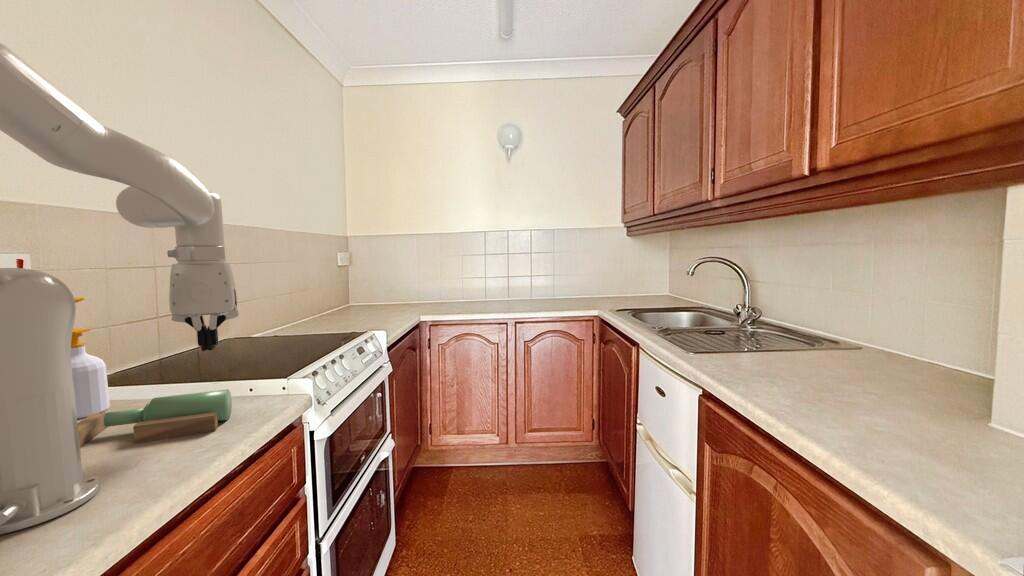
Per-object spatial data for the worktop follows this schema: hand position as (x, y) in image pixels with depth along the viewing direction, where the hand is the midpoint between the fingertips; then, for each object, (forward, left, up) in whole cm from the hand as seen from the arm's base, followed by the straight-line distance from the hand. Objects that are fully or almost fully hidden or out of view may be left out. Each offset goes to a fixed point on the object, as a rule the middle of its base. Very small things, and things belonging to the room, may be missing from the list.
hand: (208, 349), depth 83 cm
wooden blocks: (0, +9, -15) cm, 17 cm away
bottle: (0, -3, -12) cm, 12 cm away
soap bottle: (+17, +27, -15) cm, 36 cm away
